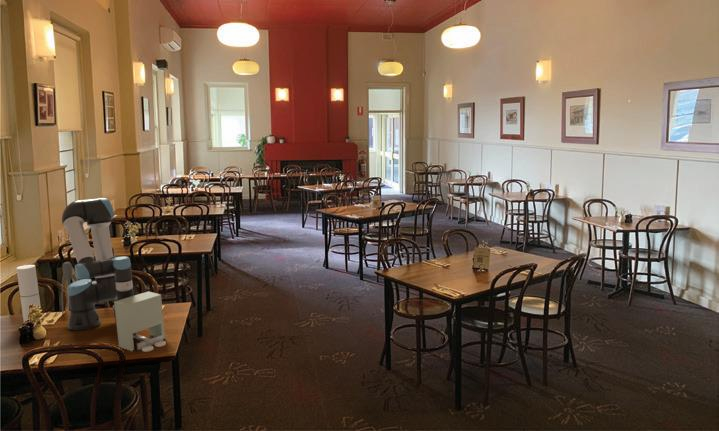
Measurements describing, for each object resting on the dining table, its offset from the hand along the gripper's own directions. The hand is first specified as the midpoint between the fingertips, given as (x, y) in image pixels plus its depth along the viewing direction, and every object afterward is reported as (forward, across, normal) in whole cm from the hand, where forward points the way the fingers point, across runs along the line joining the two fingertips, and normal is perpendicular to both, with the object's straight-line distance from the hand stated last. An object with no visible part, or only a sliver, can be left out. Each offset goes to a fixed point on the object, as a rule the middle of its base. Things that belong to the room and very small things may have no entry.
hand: (129, 335), depth 282 cm
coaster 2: (+2, +3, -20) cm, 20 cm away
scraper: (+1, 0, -8) cm, 8 cm away
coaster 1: (+2, -3, -20) cm, 20 cm away
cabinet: (+1, 0, -10) cm, 11 cm away
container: (+2, -15, +66) cm, 68 cm away
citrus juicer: (+2, +1, +58) cm, 59 cm away
